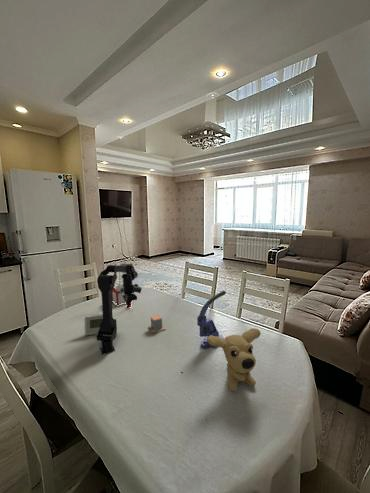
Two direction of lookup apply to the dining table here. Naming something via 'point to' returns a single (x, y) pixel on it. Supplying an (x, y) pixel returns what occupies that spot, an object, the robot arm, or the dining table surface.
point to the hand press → (208, 323)
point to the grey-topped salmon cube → (156, 322)
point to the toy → (238, 356)
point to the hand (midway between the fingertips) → (128, 306)
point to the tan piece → (156, 330)
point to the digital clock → (93, 324)
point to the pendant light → (118, 293)
